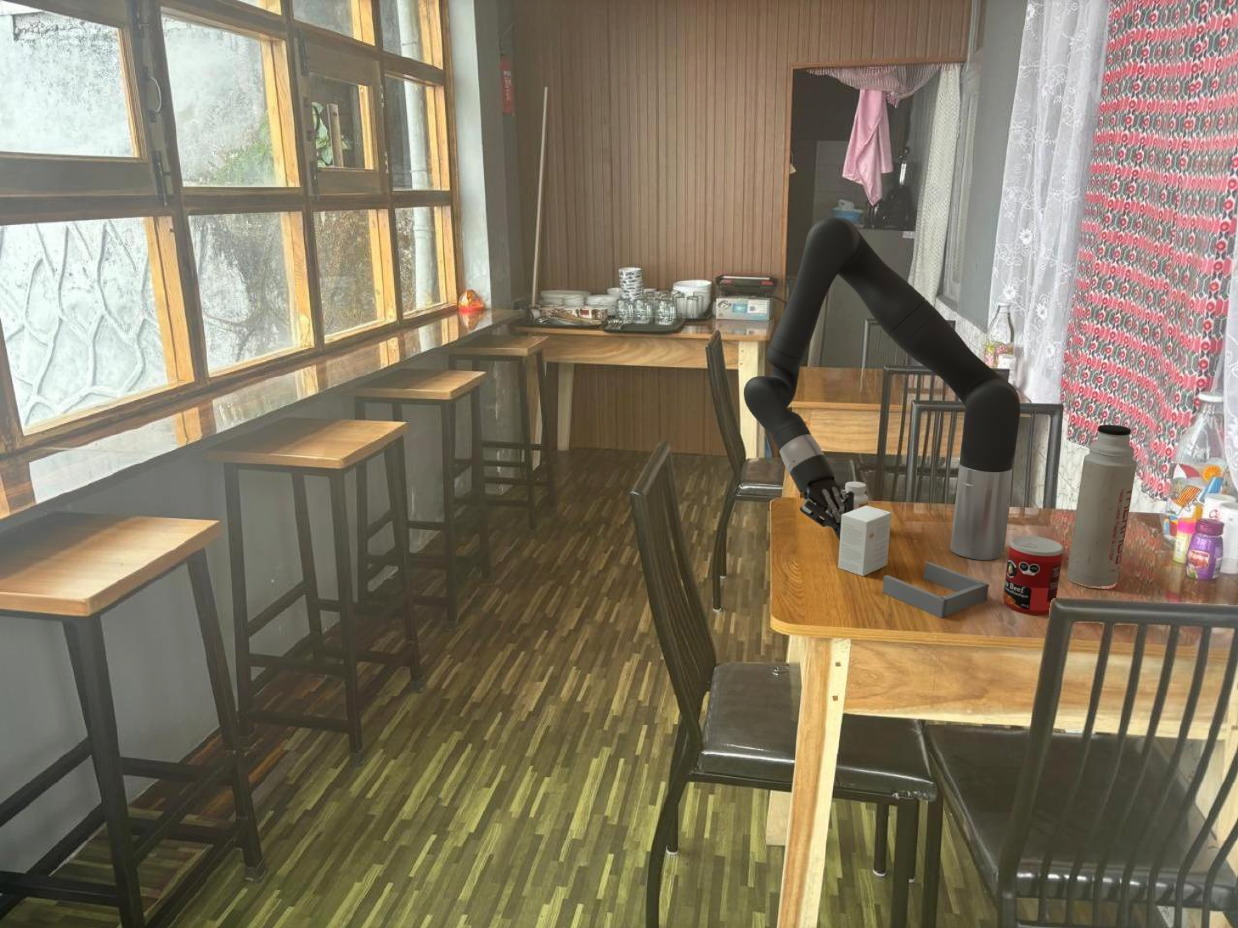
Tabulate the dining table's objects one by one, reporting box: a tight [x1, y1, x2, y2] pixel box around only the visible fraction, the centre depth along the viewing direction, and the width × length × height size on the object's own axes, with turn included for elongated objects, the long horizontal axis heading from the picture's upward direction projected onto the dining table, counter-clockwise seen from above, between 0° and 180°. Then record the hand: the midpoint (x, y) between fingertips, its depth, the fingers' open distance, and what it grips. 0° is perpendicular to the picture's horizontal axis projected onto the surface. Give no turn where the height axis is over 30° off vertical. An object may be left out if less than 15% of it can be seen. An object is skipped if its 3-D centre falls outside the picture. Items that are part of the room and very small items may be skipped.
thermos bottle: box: [1066, 424, 1138, 587], centre depth 156 cm, size 8×8×28 cm
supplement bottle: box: [844, 481, 869, 510], centre depth 184 cm, size 5×5×10 cm
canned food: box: [1002, 535, 1064, 616], centre depth 148 cm, size 8×8×11 cm
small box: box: [837, 505, 892, 577], centre depth 164 cm, size 8×6×10 cm
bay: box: [881, 561, 990, 619], centre depth 153 cm, size 12×12×3 cm
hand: (849, 542), depth 167 cm, fingers closed
